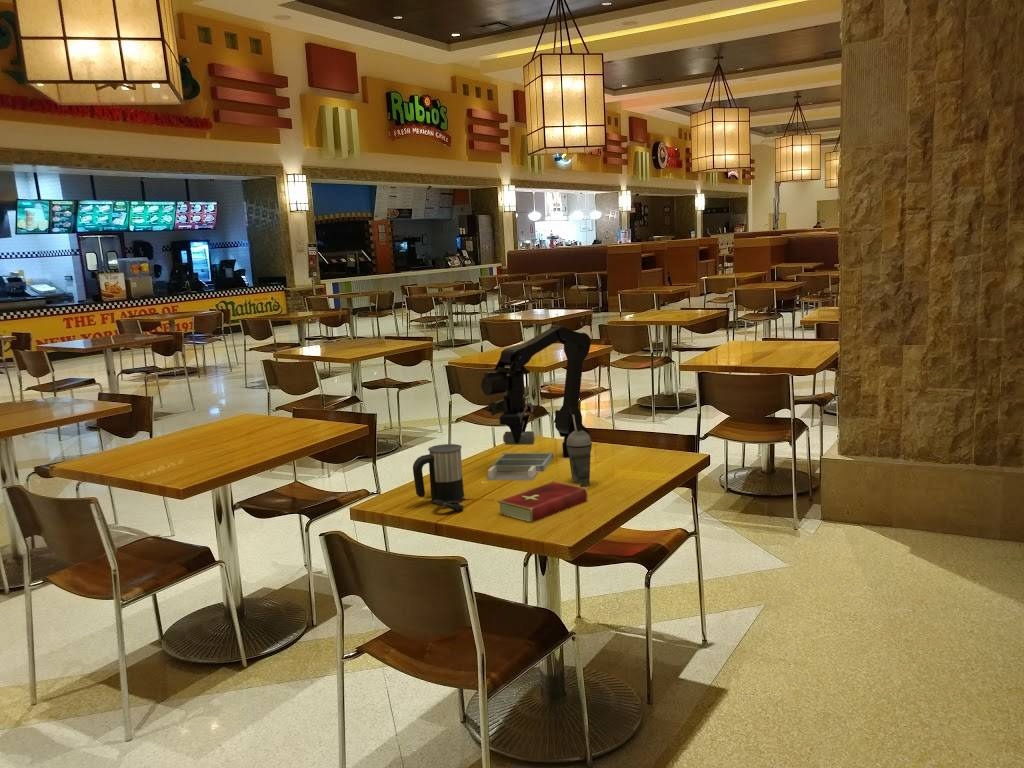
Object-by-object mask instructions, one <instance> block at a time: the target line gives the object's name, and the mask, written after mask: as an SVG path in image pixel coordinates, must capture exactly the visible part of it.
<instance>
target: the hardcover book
mask: <svg viewBox="0 0 1024 768" xmlns="http://www.w3.org/2000/svg"><path fill="white" fill-rule="evenodd" d="M585 501H586V502H588V490H587V488H586V487H580V485H579V486H578V485H573V484H569V483H563V482H559V481H554V480H553V481H550V482H547V483H545V484H541V485H538V486H536V487H533V488H531V489H527V490H525V491H522V492H521V491H520V492H519V493H516V494H513V495H510V496H507V497H505V498H502V499H499V500H497V501H496V502H497V503H498V504H499V514H500V515H503V514H504V516H506V515H507V516H508V517H510V516H511V518H515V519H517V520H518V519H519V520H521V521H522V520H523V521H525V520H526V522H529V521H530V522H531V524H532V523H534V521H535V522H537V521H539V519H540V520H543V519H545V518H547V517H546V516H548V517H550V516H553V515H555V514H558V513H560V512H563V511H566V510H568V509H571V508H573V507H575V505H576V506H578V505H581V504H583V503H586V502H585ZM582 502H583V503H582ZM580 503H581V504H580ZM577 504H578V505H577ZM572 506H573V507H572ZM570 507H571V508H570ZM567 508H568V509H567ZM565 509H566V510H565ZM562 510H563V511H562ZM559 511H560V512H559ZM557 512H558V513H557ZM554 513H555V514H554ZM552 514H553V515H552ZM549 515H550V516H549ZM544 517H545V518H544ZM536 520H537V521H536ZM530 522H529V523H530Z"/></svg>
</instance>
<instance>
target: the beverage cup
mask: <svg viewBox="0 0 1024 768" xmlns="http://www.w3.org/2000/svg"><path fill="white" fill-rule="evenodd" d="M572 416H573V422H574V428H575V431H573V432H572V433H570V435H569V436H568V438H567V444H566V446H567V450H568V453H569V458H568V460H569V466H570V473H571V480H572V483H574V484H579V487H580V486H584V487H587V485H588V486H589V485H590V479H591V476H590V475H591V455H592V454H591V453H592V446H593V443H592V439H591V437H590V434H589V435H588V434H587V433H586V432H585V431H583V430H577V428H576V423H575V417H574V415H572Z"/></svg>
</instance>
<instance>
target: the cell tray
mask: <svg viewBox="0 0 1024 768" xmlns="http://www.w3.org/2000/svg"><path fill="white" fill-rule="evenodd" d="M553 459H554V453H553V452H505V453H504V452H503V453H502V454H501V455H500V456H499V457H498V458H497V459H496V460H495V461H494V462H493V463H492V464H491V465H490V468H491V467H492V466H496V470H497V472H528V470H529V469H530V468H531V466H536V472H544V471H545V469H546V468H547V467H548V466H549V464H550V463H551V462H552V460H553Z"/></svg>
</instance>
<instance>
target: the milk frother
mask: <svg viewBox="0 0 1024 768" xmlns="http://www.w3.org/2000/svg"><path fill="white" fill-rule="evenodd" d="M427 451H428V452H429V454H425V455H424V454H423V455H420V456H419V457H417V458H416V459H415V460H414V462H413V465H412V473H413V479H414V487H415V488H414V489H415V493H416V495H417V496H418V497H420V498H425V494H426V492H425V483H424V475H423V467H424V466H425V465H426V464H428V470H429V483H430V485H429V486H430V495H431V503H433V504H434V505H435V504H436V505H440V506H443V507H445V508H448V509H449V510H453V511H455V512H457V511H458V510H461V509H463V508H464V504H463V503H462V504H461V502H464V501H465V500H466V498H464V496H465V489H464V481H463V464H462V445H459V444H455V443H447V444H446V443H445V444H436V445H433V446H430V447H428V449H427Z"/></svg>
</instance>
